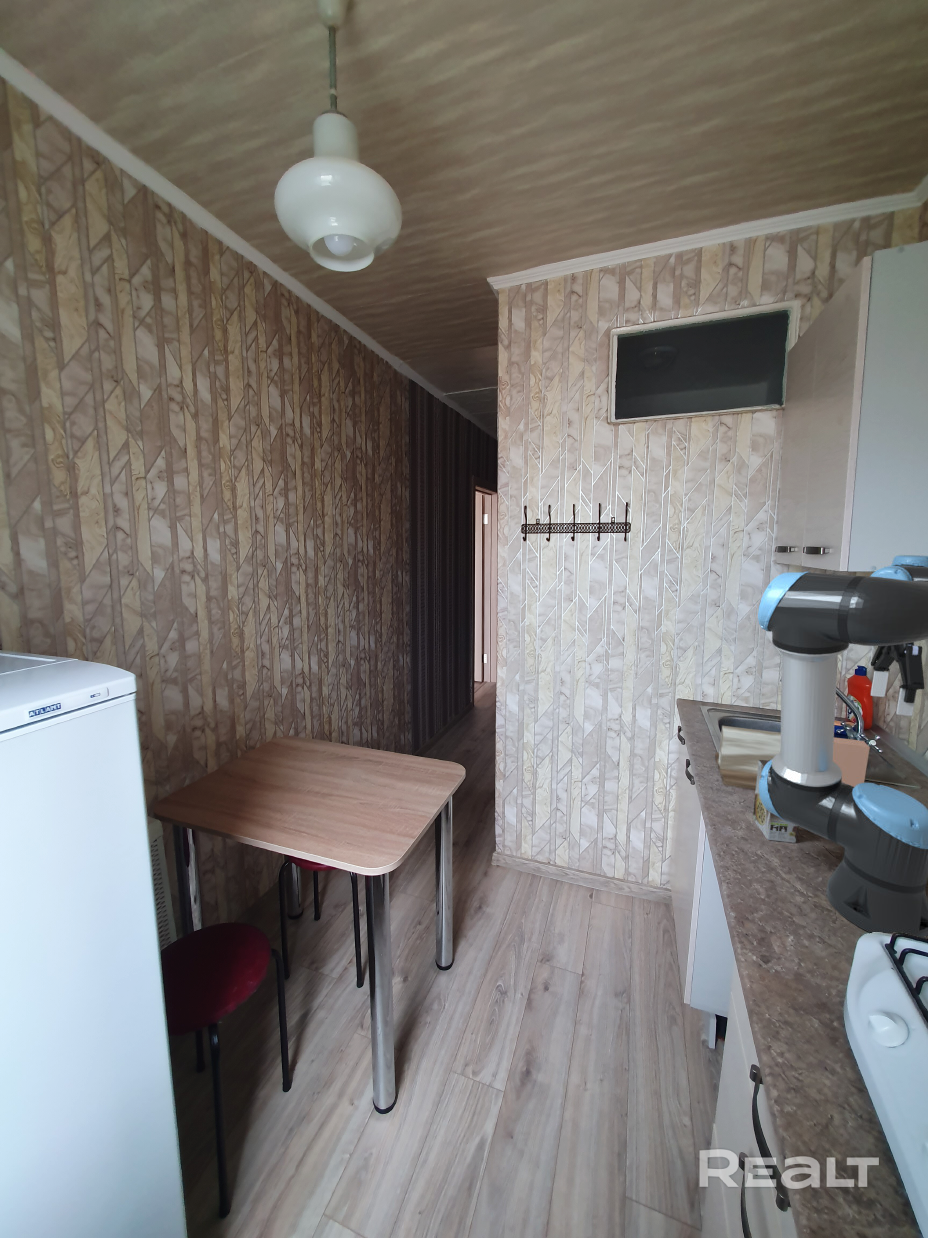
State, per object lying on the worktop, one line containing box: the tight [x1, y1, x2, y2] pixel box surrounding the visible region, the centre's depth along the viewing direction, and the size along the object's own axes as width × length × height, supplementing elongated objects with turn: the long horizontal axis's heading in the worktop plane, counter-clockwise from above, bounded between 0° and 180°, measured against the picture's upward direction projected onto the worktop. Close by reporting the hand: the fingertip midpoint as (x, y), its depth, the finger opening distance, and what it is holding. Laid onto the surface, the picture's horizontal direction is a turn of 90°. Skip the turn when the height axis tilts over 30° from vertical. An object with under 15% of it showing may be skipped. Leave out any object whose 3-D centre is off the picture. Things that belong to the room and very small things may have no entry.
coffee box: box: [752, 760, 799, 844], centre depth 113 cm, size 9×6×16 cm
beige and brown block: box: [714, 725, 781, 791], centre depth 137 cm, size 18×26×14 cm
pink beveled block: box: [833, 737, 871, 787], centre depth 131 cm, size 4×8×12 cm, turn 69°
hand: (890, 705), depth 117 cm, fingers open, 13 cm apart
